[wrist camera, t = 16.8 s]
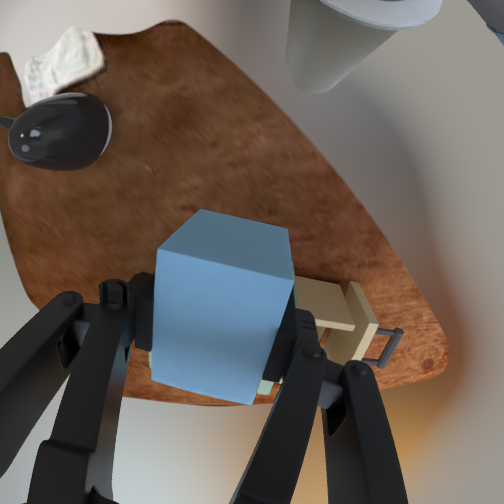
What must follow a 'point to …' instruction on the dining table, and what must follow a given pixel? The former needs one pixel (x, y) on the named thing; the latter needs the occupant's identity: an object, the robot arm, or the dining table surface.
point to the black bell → (60, 132)
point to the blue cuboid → (219, 304)
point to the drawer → (344, 321)
